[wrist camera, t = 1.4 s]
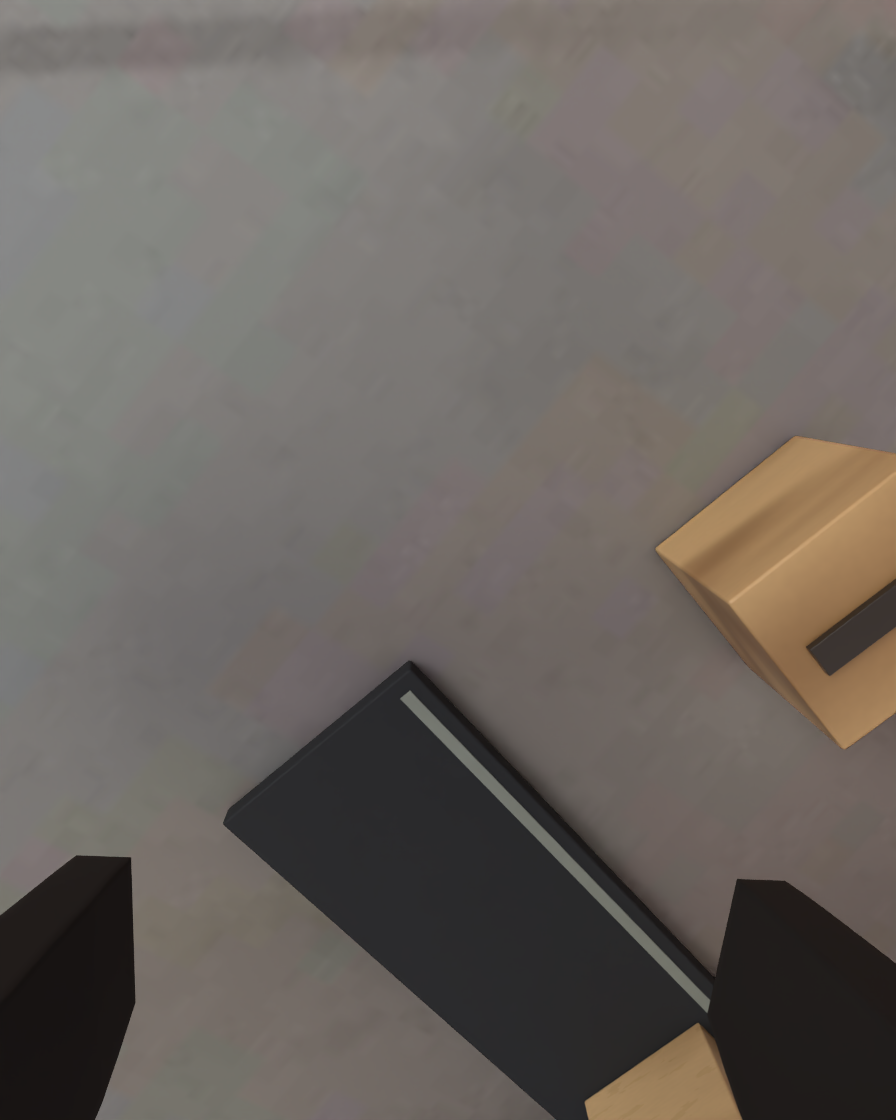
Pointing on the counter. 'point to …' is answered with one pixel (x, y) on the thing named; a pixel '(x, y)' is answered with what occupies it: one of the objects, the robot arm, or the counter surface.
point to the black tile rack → (475, 894)
